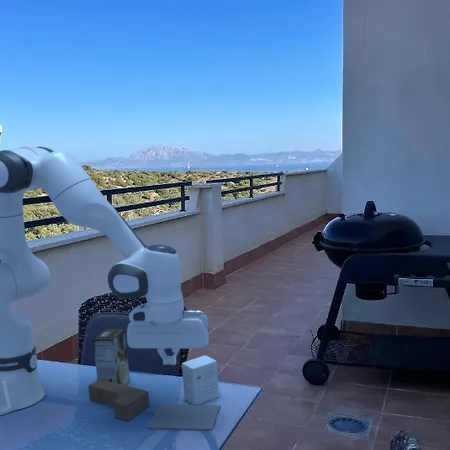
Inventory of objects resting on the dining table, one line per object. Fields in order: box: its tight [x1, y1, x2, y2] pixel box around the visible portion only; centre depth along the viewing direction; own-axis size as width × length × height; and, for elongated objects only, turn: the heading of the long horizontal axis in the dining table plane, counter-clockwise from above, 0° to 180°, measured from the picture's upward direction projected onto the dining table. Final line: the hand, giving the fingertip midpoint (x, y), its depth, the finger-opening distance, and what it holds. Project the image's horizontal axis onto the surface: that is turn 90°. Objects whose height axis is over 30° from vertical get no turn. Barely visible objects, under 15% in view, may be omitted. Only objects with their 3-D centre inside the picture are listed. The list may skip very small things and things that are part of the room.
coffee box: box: [92, 328, 131, 386], centre depth 155 cm, size 9×6×16 cm
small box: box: [181, 354, 220, 405], centre depth 145 cm, size 8×6×10 cm
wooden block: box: [88, 379, 150, 422], centre depth 144 cm, size 9×4×18 cm
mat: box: [147, 403, 221, 431], centre depth 136 cm, size 16×12×1 cm
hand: (169, 364), depth 134 cm, fingers closed
